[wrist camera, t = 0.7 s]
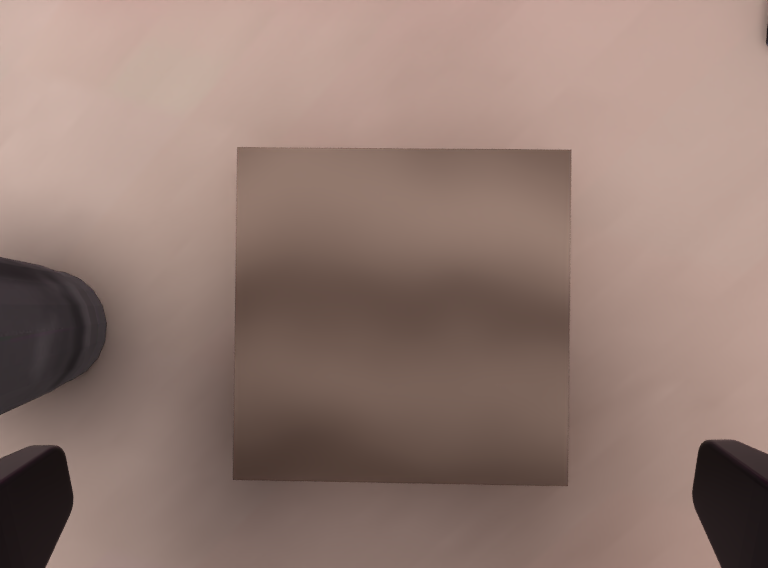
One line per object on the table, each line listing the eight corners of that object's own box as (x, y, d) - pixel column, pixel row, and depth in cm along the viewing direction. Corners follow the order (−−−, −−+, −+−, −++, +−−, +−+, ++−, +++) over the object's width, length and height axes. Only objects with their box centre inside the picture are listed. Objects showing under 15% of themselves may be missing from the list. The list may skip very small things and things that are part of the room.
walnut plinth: (553, 469, 24) (567, 486, 22) (246, 463, 24) (232, 479, 22) (556, 161, 24) (571, 149, 22) (250, 158, 24) (237, 147, 22)
